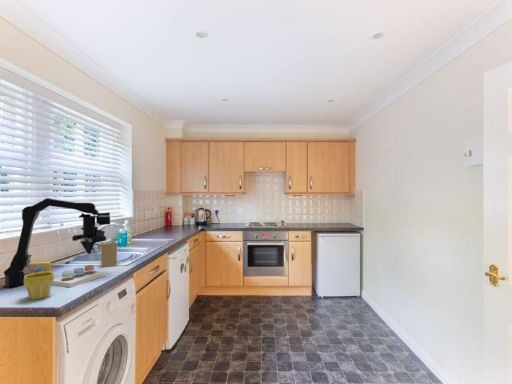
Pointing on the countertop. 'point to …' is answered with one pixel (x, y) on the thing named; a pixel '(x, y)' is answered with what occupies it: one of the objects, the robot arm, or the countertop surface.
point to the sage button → (67, 273)
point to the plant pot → (38, 284)
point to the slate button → (78, 270)
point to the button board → (77, 278)
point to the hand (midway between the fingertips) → (89, 253)
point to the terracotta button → (89, 267)
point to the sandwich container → (108, 255)
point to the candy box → (37, 267)
